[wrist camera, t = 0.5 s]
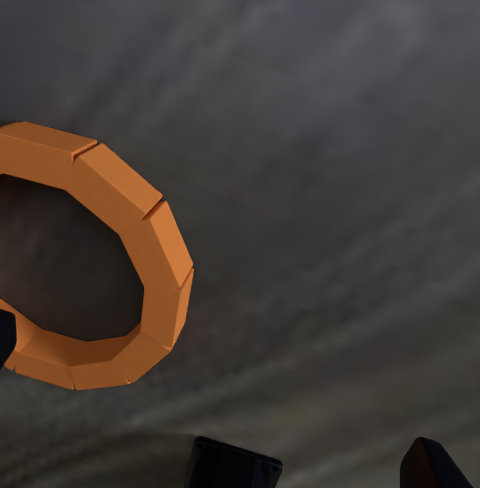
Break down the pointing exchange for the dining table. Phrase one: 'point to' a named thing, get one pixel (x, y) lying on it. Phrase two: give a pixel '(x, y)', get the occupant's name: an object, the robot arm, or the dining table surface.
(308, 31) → the dining table surface
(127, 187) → the ring
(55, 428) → the dining table surface
